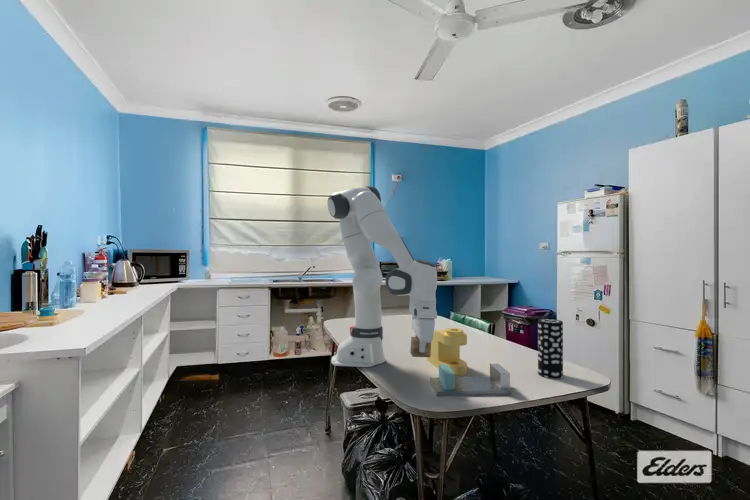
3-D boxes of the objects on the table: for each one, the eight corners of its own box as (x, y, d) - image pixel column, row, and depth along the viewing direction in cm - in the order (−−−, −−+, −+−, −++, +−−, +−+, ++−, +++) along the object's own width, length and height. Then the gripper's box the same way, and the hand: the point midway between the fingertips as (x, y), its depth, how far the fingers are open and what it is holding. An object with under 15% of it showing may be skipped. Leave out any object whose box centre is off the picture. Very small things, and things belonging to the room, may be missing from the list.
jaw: (445, 389, 119) (445, 374, 119) (438, 378, 129) (438, 364, 129) (454, 389, 119) (454, 374, 119) (447, 378, 129) (447, 364, 129)
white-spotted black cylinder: (543, 369, 143) (543, 318, 143) (566, 374, 137) (566, 320, 137) (534, 374, 137) (534, 321, 137) (558, 380, 132) (557, 324, 131)
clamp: (471, 374, 138) (471, 331, 138) (448, 376, 136) (448, 333, 136) (447, 359, 157) (447, 321, 157) (427, 361, 155) (427, 322, 155)
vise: (437, 396, 118) (437, 375, 118) (429, 381, 131) (429, 363, 131) (511, 394, 119) (511, 374, 119) (496, 380, 132) (496, 362, 132)
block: (412, 356, 123) (413, 340, 123) (410, 352, 127) (411, 336, 127) (430, 357, 123) (431, 340, 123) (427, 353, 128) (428, 337, 128)
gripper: (408, 302, 135) (406, 340, 135) (418, 313, 115) (415, 358, 115) (425, 303, 136) (423, 341, 136) (438, 314, 115) (435, 358, 115)
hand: (420, 349), depth 125 cm, fingers closed on block, 4 cm apart
